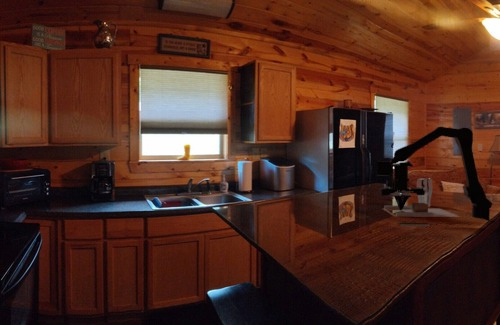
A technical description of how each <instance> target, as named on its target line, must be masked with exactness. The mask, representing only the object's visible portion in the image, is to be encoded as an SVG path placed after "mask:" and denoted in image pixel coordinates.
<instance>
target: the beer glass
mask: <svg viewBox="0 0 500 325" xmlns="http://www.w3.org/2000/svg"><path fill="white" fill-rule="evenodd" d="M416 188H422V189H424V191H425V195H417V200H418V201H417V203H425V204H428V208H431V200H432V194H433V179H432V178H421V177H420V178H417V180H416Z"/></svg>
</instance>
